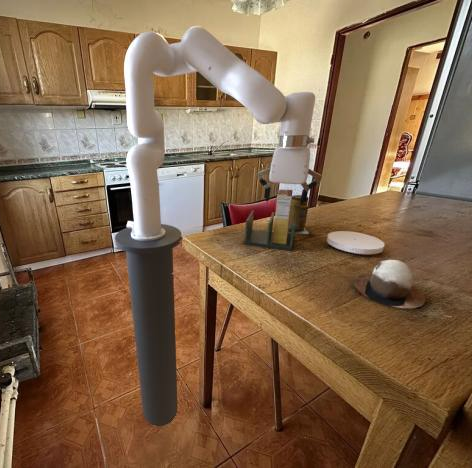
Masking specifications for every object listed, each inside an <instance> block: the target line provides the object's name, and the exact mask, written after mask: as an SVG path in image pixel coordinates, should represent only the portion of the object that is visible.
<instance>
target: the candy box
mask: <svg viewBox="0 0 472 468" xmlns="http://www.w3.org/2000/svg"><path fill="white" fill-rule="evenodd" d="M276 195H277V196H276V205H275V212H274V222H273V232H274V233H273V243H276V244H284V245H286V243H287V236H288V234H289V233H288V228H289V220H290V211H291V202H292V196H293V189H279V190H278V193H277V194H276Z"/></svg>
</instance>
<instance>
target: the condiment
mask: <svg viewBox="0 0 472 468" xmlns="http://www.w3.org/2000/svg"><path fill="white" fill-rule="evenodd" d="M301 196H302V194H295V195H292V202H291V211H290V220H289V228H288V234H291V231H292V224H293V218H294V214H296V222H295V230H294V235H295V234H296V235H297V234H299V235H310V233H309V231H308V230H307V229H306V228H305V227H306V223H307V217H308V212H309V204H308V203H309V196H307V200H306V201H304V202H303V205H301V204H300V201H301Z"/></svg>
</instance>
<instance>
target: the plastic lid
mask: <svg viewBox="0 0 472 468" xmlns="http://www.w3.org/2000/svg"><path fill="white" fill-rule="evenodd" d="M326 243H328V245H329V246H331V247H333V248H335V249H338V250H341V251H344V252H348V253H352V254H358V255H377V254H380V253H383V252H384V249H385V246H386V245H385V242H384V241H383V240H382V239H379V238H377V237H375V236H373V235H369V234H366V233H362V232H357V231H348V230H338V231H331V232H329V233H328V234H327V235H326Z"/></svg>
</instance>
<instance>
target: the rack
mask: <svg viewBox="0 0 472 468" xmlns="http://www.w3.org/2000/svg"><path fill="white" fill-rule="evenodd" d="M254 217H255V210H251V212H250V213H249V215H248V217H247V219H246V220H245V229H244V240H243V241H244V242H243V244H244V245H249V246H256V247H263V248H267V249H268V248H269V249H275V250H283V251H290V252H291V251H292V249H293V242H294V236H295V233H294V230H295V222H296V214H294V218H293V224H292V231H291V233H288V236H287V243H286V245H284V244H276V243H273V233H274V231H273V229H274V221H275V212H274V211H272V212H271V215H270V218H269V220H268V225H267V230H261V229H255V228H254V229H253V226H254Z"/></svg>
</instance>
